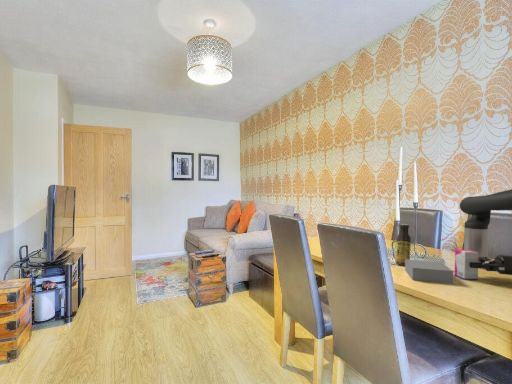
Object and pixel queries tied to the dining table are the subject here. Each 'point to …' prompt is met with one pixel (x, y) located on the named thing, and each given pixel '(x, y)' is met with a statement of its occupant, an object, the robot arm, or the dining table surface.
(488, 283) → the dining table surface
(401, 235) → the sauce bottle
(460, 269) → the supplement box
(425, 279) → the podium
